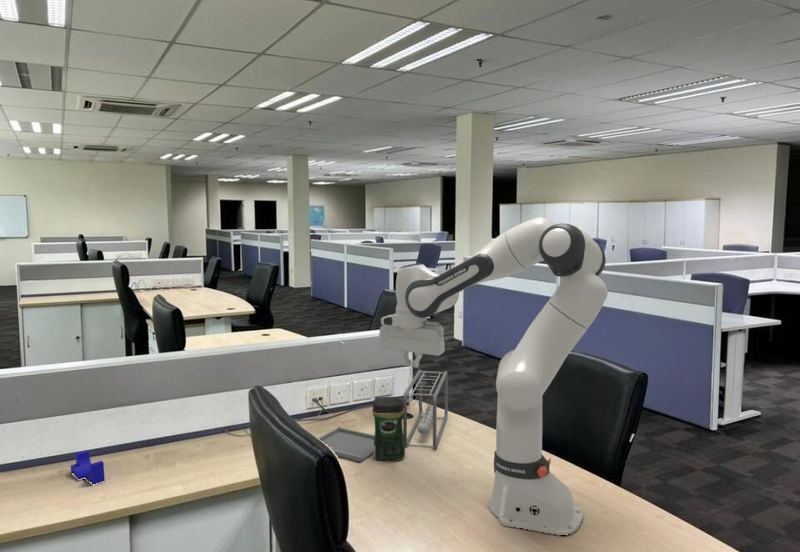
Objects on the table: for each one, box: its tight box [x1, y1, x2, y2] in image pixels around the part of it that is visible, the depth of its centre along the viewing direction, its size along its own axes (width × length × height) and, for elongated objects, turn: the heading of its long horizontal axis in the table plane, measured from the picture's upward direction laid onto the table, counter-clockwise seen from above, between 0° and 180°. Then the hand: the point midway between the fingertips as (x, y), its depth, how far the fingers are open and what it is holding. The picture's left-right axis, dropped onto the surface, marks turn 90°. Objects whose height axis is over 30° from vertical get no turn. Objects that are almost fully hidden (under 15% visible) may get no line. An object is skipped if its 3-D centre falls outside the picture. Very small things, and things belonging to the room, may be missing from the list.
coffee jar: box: [372, 396, 406, 462], centre depth 173 cm, size 10×8×19 cm
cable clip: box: [70, 450, 106, 484], centre depth 161 cm, size 12×4×6 cm, turn 48°
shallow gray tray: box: [318, 426, 375, 464], centre depth 181 cm, size 20×16×2 cm
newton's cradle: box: [402, 369, 449, 450], centre depth 192 cm, size 30×10×18 cm, turn 168°
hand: (411, 366), depth 166 cm, fingers closed
